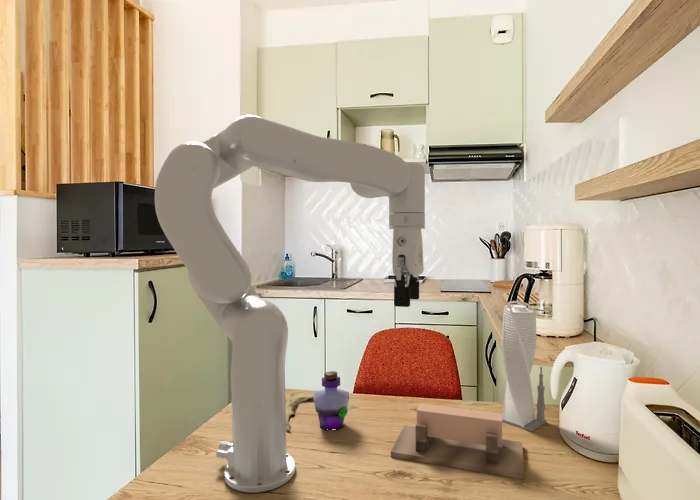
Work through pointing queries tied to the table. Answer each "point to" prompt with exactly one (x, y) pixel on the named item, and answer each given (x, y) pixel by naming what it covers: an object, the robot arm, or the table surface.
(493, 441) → the rack
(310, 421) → the table surface
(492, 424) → the pink rectangular block
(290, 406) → the animal bone
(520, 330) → the skyscraper
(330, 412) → the potion bottle
